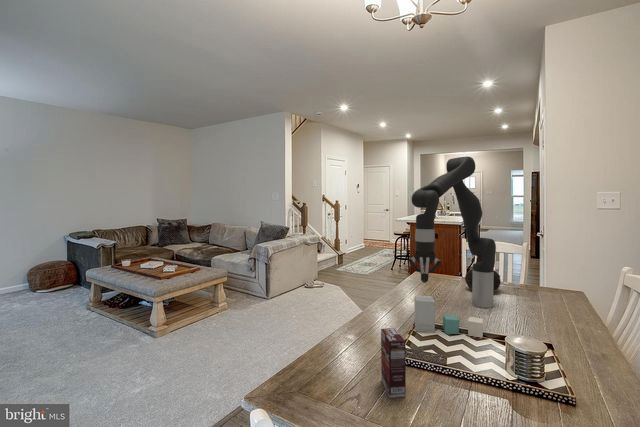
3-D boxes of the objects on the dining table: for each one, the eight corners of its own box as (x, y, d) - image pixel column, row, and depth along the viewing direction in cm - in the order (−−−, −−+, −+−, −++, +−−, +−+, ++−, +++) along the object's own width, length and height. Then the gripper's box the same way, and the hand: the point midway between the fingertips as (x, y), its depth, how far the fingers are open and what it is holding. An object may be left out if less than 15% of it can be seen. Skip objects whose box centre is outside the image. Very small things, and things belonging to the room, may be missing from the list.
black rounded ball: (501, 297, 172) (502, 244, 170) (464, 293, 179) (465, 243, 178) (499, 288, 188) (500, 240, 186) (465, 285, 196) (465, 238, 194)
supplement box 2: (435, 333, 129) (435, 301, 128) (415, 331, 130) (415, 300, 130) (432, 325, 136) (432, 296, 135) (414, 324, 138) (414, 295, 137)
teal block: (442, 329, 133) (442, 314, 132) (455, 329, 132) (455, 315, 132) (445, 334, 128) (445, 319, 127) (458, 335, 127) (459, 319, 127)
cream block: (468, 331, 130) (469, 316, 130) (482, 333, 128) (483, 318, 128) (468, 336, 126) (468, 321, 125) (482, 338, 123) (482, 323, 123)
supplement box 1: (380, 380, 96) (380, 328, 96) (396, 379, 97) (396, 327, 96) (389, 398, 88) (388, 341, 87) (406, 397, 88) (406, 340, 87)
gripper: (442, 239, 133) (441, 281, 133) (408, 238, 137) (408, 278, 138) (442, 241, 126) (442, 286, 126) (407, 240, 130) (406, 283, 131)
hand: (424, 282), depth 132 cm, fingers closed
